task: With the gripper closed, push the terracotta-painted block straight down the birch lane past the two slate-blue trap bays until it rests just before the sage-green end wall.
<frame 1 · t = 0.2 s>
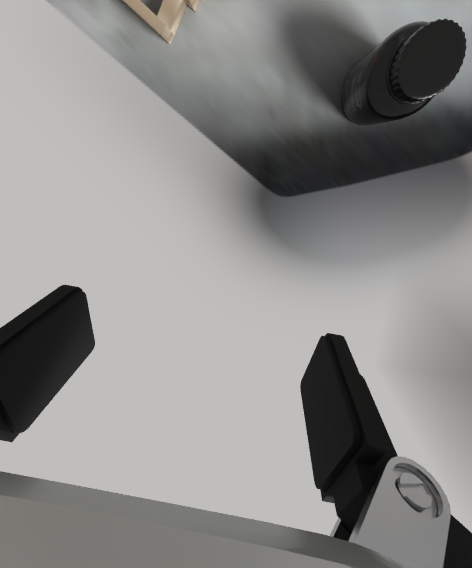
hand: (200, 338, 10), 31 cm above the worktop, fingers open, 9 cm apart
supplement bottle: (370, 91, 29), on the worktop
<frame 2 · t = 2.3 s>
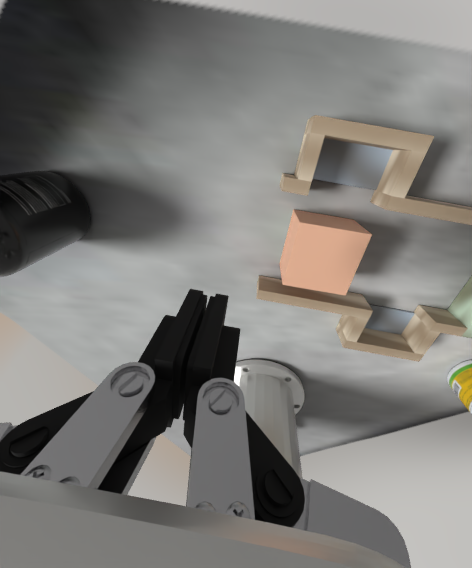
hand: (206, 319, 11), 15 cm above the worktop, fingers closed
trap lane: (370, 253, 23), on the worktop
supplement bottle: (61, 207, 25), on the worktop
terracotta block: (314, 242, 24), on the worktop
supplement bottle 2: (469, 372, 30), on the worktop
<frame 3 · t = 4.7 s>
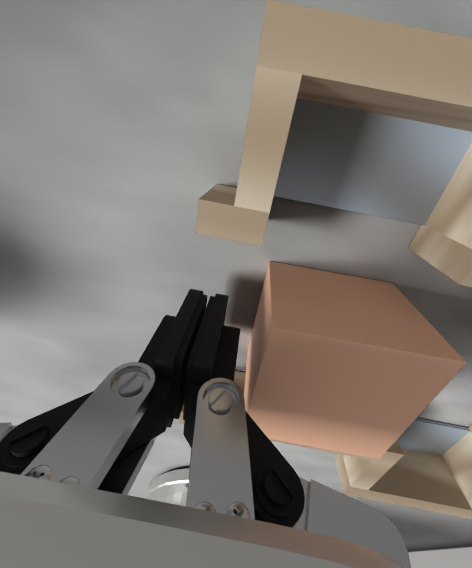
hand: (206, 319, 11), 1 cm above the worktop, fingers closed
trap lane: (400, 339, 12), on the worktop
terracotta block: (311, 320, 12), on the worktop, touching gripper
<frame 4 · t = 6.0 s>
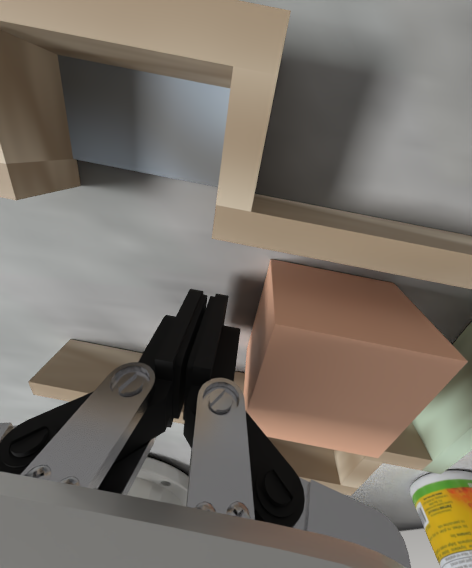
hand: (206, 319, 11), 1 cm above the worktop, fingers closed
trap lane: (251, 311, 12), on the worktop
terracotta block: (312, 319, 12), on the worktop, touching gripper
supplement bottle 2: (445, 482, 19), on the worktop
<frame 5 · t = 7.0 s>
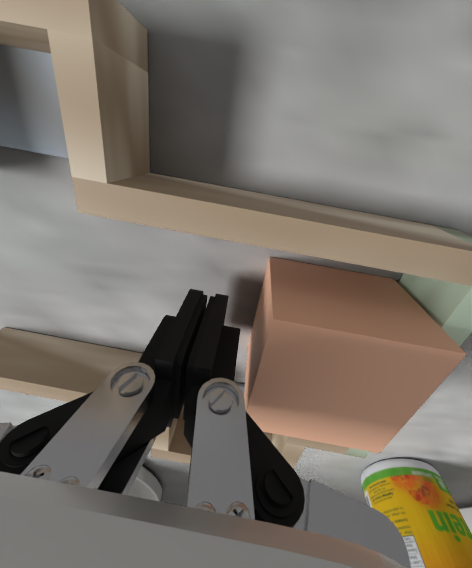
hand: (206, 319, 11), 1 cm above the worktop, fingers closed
trap lane: (171, 295, 12), on the worktop
terracotta block: (311, 316, 12), on the worktop
supplement bottle 2: (395, 471, 19), on the worktop
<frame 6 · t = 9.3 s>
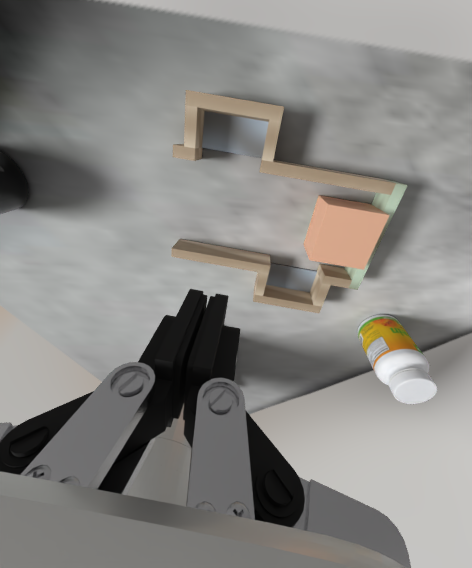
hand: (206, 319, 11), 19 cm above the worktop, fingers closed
trap lane: (269, 216, 27), on the worktop
supplement bottle: (3, 179, 28), on the worktop
terracotta block: (335, 225, 27), on the worktop
supplement bottle 2: (376, 328, 33), on the worktop
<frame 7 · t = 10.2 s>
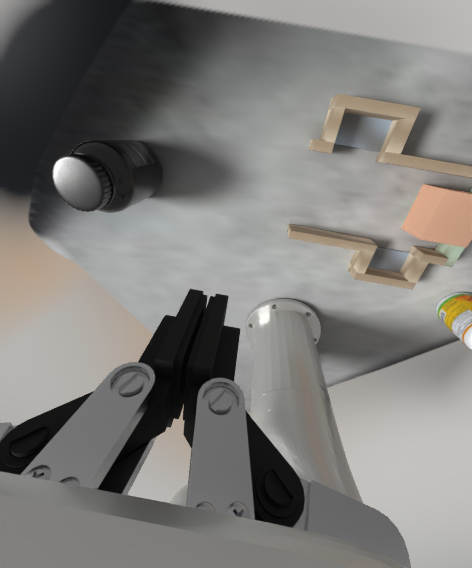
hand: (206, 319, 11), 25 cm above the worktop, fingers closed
trap lane: (375, 203, 31), on the worktop
supplement bottle: (138, 170, 32), on the worktop
terracotta block: (432, 210, 31), on the worktop
supplement bottle 2: (453, 305, 37), on the worktop
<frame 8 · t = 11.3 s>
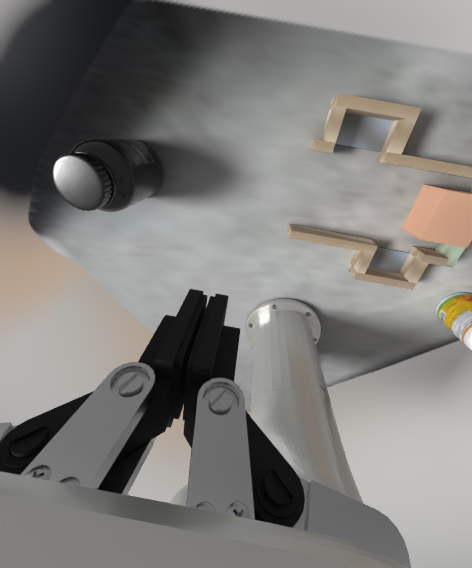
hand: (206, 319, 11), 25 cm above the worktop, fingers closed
trap lane: (376, 203, 31), on the worktop
supplement bottle: (139, 170, 32), on the worktop
terracotta block: (433, 211, 31), on the worktop
supplement bottle 2: (453, 305, 37), on the worktop
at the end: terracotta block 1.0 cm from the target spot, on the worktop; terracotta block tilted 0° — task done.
